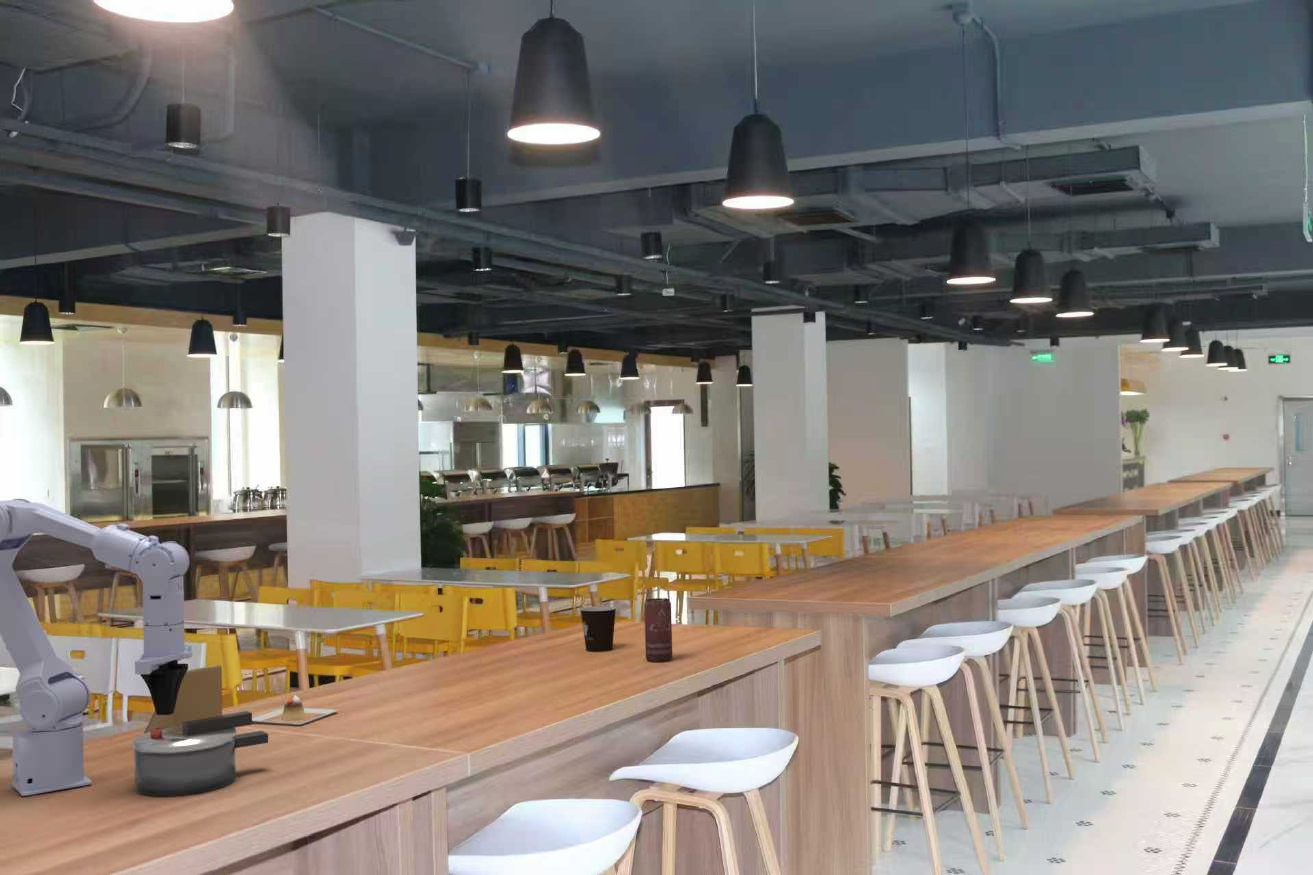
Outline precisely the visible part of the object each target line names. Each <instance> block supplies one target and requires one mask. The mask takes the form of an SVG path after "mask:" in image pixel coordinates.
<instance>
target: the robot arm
mask: <svg viewBox="0 0 1313 875" xmlns="http://www.w3.org/2000/svg"><path fill="white" fill-rule="evenodd" d="M130 526H131V525H129V524H127V523H118V524H117V525H116V524H109V525H107V526H105V527H103V528H100V527H98V526H96V525H93V524H92V523H88V522H86V521H84V520H81V519H79V518H76V517H75V516H72V515H69V514H67V513H65V512H62V511H59V510H57V509H55V508H53V507H51V506H47V505H45V504H44V503H40V502H32V501H30V500H28V499H26V498H14V499H10V500H9V499H6V500H0V636H1V638H2V641H3V643H4V645H5V647H6V648H7V651H8V652H9V654H10V658H11V659H12V661H13V663H14V665H15V667H16V669H17V670H18V672H19V676H18V679H17V682H16V685H15V692H16V694H17V696H18V700H19V713H20V717H21V718H22V720H23V721H24V723H25V724H26V725H27V726H28V729H25V730H20V731H16V732H15V733H13V737H12V778H13V779H12V787H13V788H14V790H16V791H17V792H18V794H20V795H21V796H23V797H26V796H31V795H32V796H33V795H38V794H43V793H49V792H54V791H55V792H56V791H60V790H66V789H73V788H77V787H83V786H89V785H90V786H91V785H92V784H93V781H92V780H91V779H90V778H89V777H87V776H86V775H85V762H84V761H85V755H84V753H85V752H84V716H83V715H84V712H85V711H86V710H87V709H88V707H89V705H90V702H91V700H92V698H91V696H92V694H91V690H90V686H89V685H88V684H87V682H86V681H85V680H83V679H82V678H81V677H79V676H78V675H77V673H75V670H74V669H73V666H72V665H70V664H69V663H67V662H66V661H64V660H63V659H61V658H59V657H58V656H57V654H56V652H55V650H54V648H53V646H52V644H51V642H50V640H49V638H48V635H47V634H46V632H45V630H44V628H43V626H42V624H41V622H40V620H39V618H38V616H37V614H36V612H35V610H34V608H33V606H32V604H31V602H30V600H29V598H28V596H27V595H26V592H25V590H24V588H23V586H22V584H21V582H20V580H19V578H18V576H17V574H16V572H15V570H14V568H13V563H14V561H15V559H16V557H17V554H18V553H19V551H20V550H21V549H22V547H23V546H24V545H25V544H26V543H27V542H28V541H29V540H30V539H31V538H32V536H34V534H44V535H46V536H51V537H54V538H55V539H58V540H59V539H60V540H63V541H66V542H70V543H72V544H75V545H79V546H82V547H85V548H89V549H90V550H91V551H92V554H93V556H94V558H95V559H96V560H97V561H99V562H102V563H105V564H108V565H111V566H113V567H116V568H119V569H121V570H125V571H127V572H130V573H133V574H136V576H137V577H138V578H139V579H140V580H141V582H142V615H143V616H142V621H143V622H142V624H143V625H142V628H143V630H142V631H143V633H142V634H143V635H142V636H143V653H142V654H141V655H140V657H139V659H137V660H135V661H134V674H135V675H140V677H141V678H142V679H143V681H144V682H145V684H146V686H147V689H148V691H149V694H150V696H151V699H152V704H153V708H154V712H155V711H156V714H157V715H171V714H173V713H174V709H175V705H176V701H177V696H178V692H179V688H180V685H181V683H182V680H183V678H184V676H185V674H186V672H187V670H189V664H188V663H178V662H179V661H182V660H183V659H190V658H191V659H192V657H193V651H192V645H190V644H188V645H187V644H185V592H184V575H185V574H186V572H187V571H188V570H189V567H190V555H189V553H188V551H187V550H186V549H185V547H183V546H182V545H180V544H178V543H177V542H176V541H164V542H161V543H160V541H159V537H158V536H157V535H156V536H155V535H149V536H147V535H144V534H142V533H139V532H135V531H133V530H130Z"/></svg>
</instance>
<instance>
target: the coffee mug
mask: <svg viewBox="0 0 1313 875" xmlns="http://www.w3.org/2000/svg"><path fill="white" fill-rule="evenodd" d="M616 611H617V610H616V607H615V606H589V607H588V606H587V607H581V608H580V615H581V622H582V631H583V638H584V645H585V651H586V652H592V653H602V652H609V651H611V652H612V650H613V646H614V637H615V636H614V633H615V624H616Z"/></svg>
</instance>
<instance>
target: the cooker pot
mask: <svg viewBox="0 0 1313 875" xmlns="http://www.w3.org/2000/svg"><path fill="white" fill-rule="evenodd" d="M268 743H269V733H267V732H265V731H263V730H258V731H250V732H247V733H246V732H245V733H239V734H236V739H235V740H233V741H232V742H230V743H227V744H225V745H222V746H218V747H214V748H210V749H205V750H199V751H193V752H184V753H172V754H150V753H142V752H138V751H135V750H134V751H135V753H134V785H135V787H134V789H135V792H136V793H137V794H139V795H141V796H147V797H155V798H156V797H159V798H165V797H166V798H167V797H168V798H169V797H182V796H191V795H197V794H203V793H207V792H211V791H215V790H219V789H222V788H225V787H227V786H228V785H231V784H233V783H234V782H235V781H236V779H237V777H236V776H237V774H236V773H237V771H236V749H238V748H245V747H251V746H257V745H263V744H268Z"/></svg>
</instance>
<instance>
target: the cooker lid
mask: <svg viewBox="0 0 1313 875" xmlns="http://www.w3.org/2000/svg"><path fill="white" fill-rule="evenodd" d="M252 718H253V713H252V712H250V711H247V710H245V711H239V712H234V713H228V714H227V713H226V714H222V715H221V716H215V717H209V718H204V719H198V720H192V721H186V722H182V726H178V727H171V728H165V729H162V727H153V728H150V732H148V733H144V732H143V733H142V734H140V735H138V736H137V735H136V737H134V738H133V739H132V749H133V751H138V752H142V753H150V754H172V753H184V752H193V751H199V750H205V749H210V748H214V747H218V746H222V745H225V744H227V743H230V742H232V741H233V740H235V739H236V735H237V729H236V728H240V727H247V726H252V725H253V723H252Z"/></svg>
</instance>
